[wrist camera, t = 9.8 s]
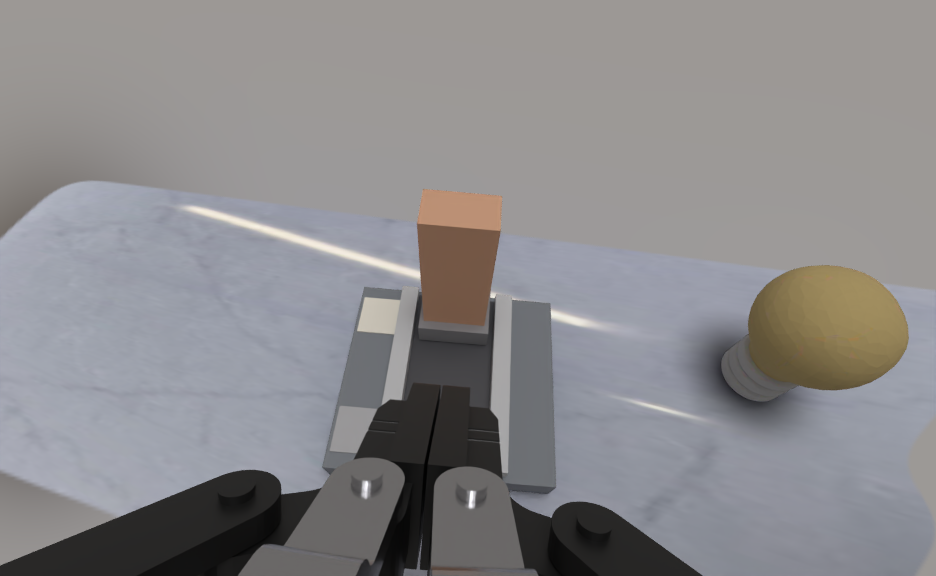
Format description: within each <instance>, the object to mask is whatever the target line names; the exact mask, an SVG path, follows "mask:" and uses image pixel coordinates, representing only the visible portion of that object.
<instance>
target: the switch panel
mask: <svg viewBox="0 0 936 576" xmlns="http://www.w3.org/2000/svg"><path fill="white" fill-rule="evenodd" d="M421 306H422V292H419V287H408V286H403V288H402V290H392V289H381V288H369V287H364V291H363V295H362V299H361V304H360V308H359V312H358V316H357V321H356V325H355V329H354V334H353V338H352V342H351V346H350V351H349V355H348V359H347V364H346V368H345V372H344V376H343V381H342V385H341V389H340V394H339V398H338V402H337V406H336V411H335V415H334V419H333V423H332V428H331V432H330V436H329V441H328V445H327V449H326V453H325V458H324V462H323V466H322V467H323V468H324V469H325V470H326V471H327V472H328V473H329V474H330V475H331V474H332V472H333V471H334V470H335V469H336V468H337V467H339V466H340V465H342V464H344V463H346V462H348V461H351V460H354V458H355V456H356V453H357V451H358V449H359V447H360V445H361V443H362V441H363V439H364V436H365V434H366V432H367V431H368V428H369V426H370V424H371V422H372V420H373V417H374V415H375V413H376V411H377V409H378V408H379V407H380V406H382V405H383V404H384V403H386V402H387V401H389V400H390V399H394V400H404V401H407V398H408V395H409V392H410V390H411V387H412V384H413V382H414V383H425V384H436V385H441V393H442V388H443V385H448V386H459V387H469V388H470V405H469V406H471V407H481V408H489V409H490V410H491V411H492V412H493V413H494V415H495V416H496V417H497V418H498V424H499V438H500V451H501V464H502V477H503V481H504V482H505V484H506V485H507V487H508V490H512V491H524V492H536V493H547V494H548V493H550V492H551V491H552V490H553V489H555V488H556V471H555V438H554V406H553V373H552V340H551V308H550V303H540V302H529V301H517V300H512V296H510V295H499V294H496V297H495V298H490V309H489V328H488V337H487V343H486V345H476V344H464V343H453V342H441V341H430V340H419V331H418V326H419V319H420V313H421ZM440 398H441V395H440Z"/></svg>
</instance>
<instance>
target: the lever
mask: <svg viewBox="0 0 936 576" xmlns="http://www.w3.org/2000/svg"><path fill="white" fill-rule="evenodd" d="M501 207H502V196H496V195H484V194H473V193H462V192H451V191H439V190H428V189H423V193H422V199H421V204H420V210H419V216H418V221H417V229H418V244H419V259H420V273H421V288H422V306H421V313H420V319H419V326H418V331H419V340H430V341H441V342H453V343H464V344H476V345H486V343H487V337H488V328H489V309H490V290H491V284H492V278H493V272H494V266H495V260H496V255H497V249H498V243H499V237H500V231H501Z"/></svg>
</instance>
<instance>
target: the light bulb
mask: <svg viewBox="0 0 936 576" xmlns="http://www.w3.org/2000/svg"><path fill="white" fill-rule="evenodd" d="M748 330H749V334H748V335H746V336H745V337H744V338H743V339H742V340H740V341H739V342H738V343H736V344H735V345H734V346H733V347H731V348H730V349H729V350H728V351H726V353H725V354H724V356H723V358H722V362H721V369H722V373H723V376H724V378H725V380H726V382H727V383H728V384H729V386H730V387H731V388H732V389H733V390H734V391H736V392H737V393H738V394H740V395H741V396H743V397H745V398H747V399H750V400H753V401H759V402H762V401H770V400H772V399H774V398H776V397H778V396H779V395H781V394H784V393H785V392H787V391H789V390H790V389H793V388H795V387H797V386H798V385H800V386H803V387H807V388H813V389H819V390H842V389H850V388H854V387H859V386H862V385H865V384H867V383H870V382H872V381H874V380H876V379H878V378H879V377H881V376H883V375H884V374H885V373H886V372H888V371H889V370H890V369H892V368H893V367H894V366H895V365H896V364H897V362H898V361H899V360H900V359H901V357H902V355H903V354H904V352H905V350H906V348H907V344H908V339H909V336H908V325H907V322H906V319H905V316H904V313H903V311H902V310H901V308H900V306H899V304H898V302H897V300H896V299H895V298H894V296H893V295H892V294H891V293H890V292H889V291H888V290H887V289H886V288H885V287H884V286H883V285H882V284H881V283H880V282H878V281H877V280H876V279H874V278H872V277H871V276H869V275H866V274H865V273H862V272H859V271H856V270H853V269H849V268H844V267H839V266H829V265H824V266H823V265H822V266H808V267H802V268H798V269H794V270H791V271H788V272H786V273H784V274H782V275H780V276H779V277H777V278H775V279H773V280H772V281H771V282H770V283H768V284H767V285H766V286H765V287H764V288H763V289H762V291H761V292H760V293H759V294H758V295H757V297H756V299H755V301H754V303H753V305H752V307H751V311H750V314H749V321H748Z"/></svg>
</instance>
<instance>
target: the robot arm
mask: <svg viewBox="0 0 936 576" xmlns="http://www.w3.org/2000/svg"><path fill="white" fill-rule="evenodd" d="M440 395H441V398H440ZM469 405H470V388H469V387H459V386H448V385H443V388H442V393H441V385H436V384H425V383H414V382H413V384H412V387H411V390H410V392H409V395H408V398H407V401H404V400H394V399H390V400H389V401H387V402H386V403H384V404H383V405H382V406H380V407H379V408H378V409H377V411H376V413H375V415H374V417H373V420H372V422H371V424H370V426H369V428H368V431H367V432H366V434H365V436H364V439H363V441H362V443H361V445H360V447H359V449H358V451H357V453H356V456H355V458H354V460H351V461H348V462H346V463H344V464H342V465H340V466H339V467H337V468H336V469H335V470H334V471H333V472H332V474H331V475H330V476H329V478H328V479H327V481H326V482H325V484H324V486H323V487H322V488H320V489H316V490H312V491H306V492H298V493H290V494H282V495H281V484H280V481H279V480H278V479H277V478H276V477H275V476H274V475H272V474H270V473H268V472H264V471H259V470H242V471H236V472H231V473H228V474H225V475H222V476H219V477H217V478H214V479H212V480H209V481H207V482H204V483H202V484H199V485H197V486H194V487H192V488H190V489H187V490H185V491H182V492H180V493H177V494H175V495H172V496H170V497H167V498H165V499H163V500H160V501H158V502H155V503H153V504H150V505H148V506H145V507H143V508H140V509H138V510H136V511H133V512H131V513H128V514H126V515H123V516H121V517H118V518H116V519H113V520H111V521H109V522H106V523H104V524H101V525H99V526H96V527H94V528H91V529H89V530H86V531H84V532H82V533H79V534H77V535H74V536H72V537H69V538H67V539H64V540H62V541H60V542H57V543H55V544H52V545H50V546H47V547H45V548H42V549H40V550H37V551H35V552H32V553H30V554H28V555H25V556H23V557H20V558H18V559H16V560H13V561H11V562H8V563H6V564H3V565H1V566H0V576H403V573H404V568H407V569H417V563H418V557H419V551H420V545H421V539H422V547H421V560H420V570H428V571H427V576H702V575H701V574H700V573H698V572H697V571H695V570H694V569H693V568H691V567H690V566H688V565H687V564H686V563H684V562H683V561H681V560H680V559H679V558H677V557H676V556H675V555H673V554H672V553H670V552H669V551H668V550H666V549H665V548H663V547H662V546H661V545H659V544H658V543H656V542H655V541H654V540H652V539H651V538H649V537H648V536H647V535H645V534H644V533H643V532H641V531H640V530H638V529H637V528H636V527H634V526H633V525H631V524H630V523H629V522H627V521H626V520H624V519H623V518H622V517H620V516H619V515H617V514H616V513H614V512H613V511H611V510H609V509H607V508H605V507H602V506H600V505H597V504H593V503H588V502H570V503H566V504H564V505H562V506H560V507H558V508H557V509H556V510H555V512H554V513H553V516H552V518H550V517H547V516H544V515H541V514H538V513H535V512H533V511H530V510H528V509H526V508H524V507H522V506H521V505H519V504H518V503H516V502H515V501H514V500H513V499H512V498H511V497H510V495H509V490H508V487H507V485H506V484H505V482H504V481H503V477H502V464H501V451H500V438H499V424H498V418H497V417H496V416H495V415H494V413H493V412H492V411H491V410H490V409H489V408H481V407H471V406H469ZM422 533H423V534H422Z"/></svg>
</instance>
